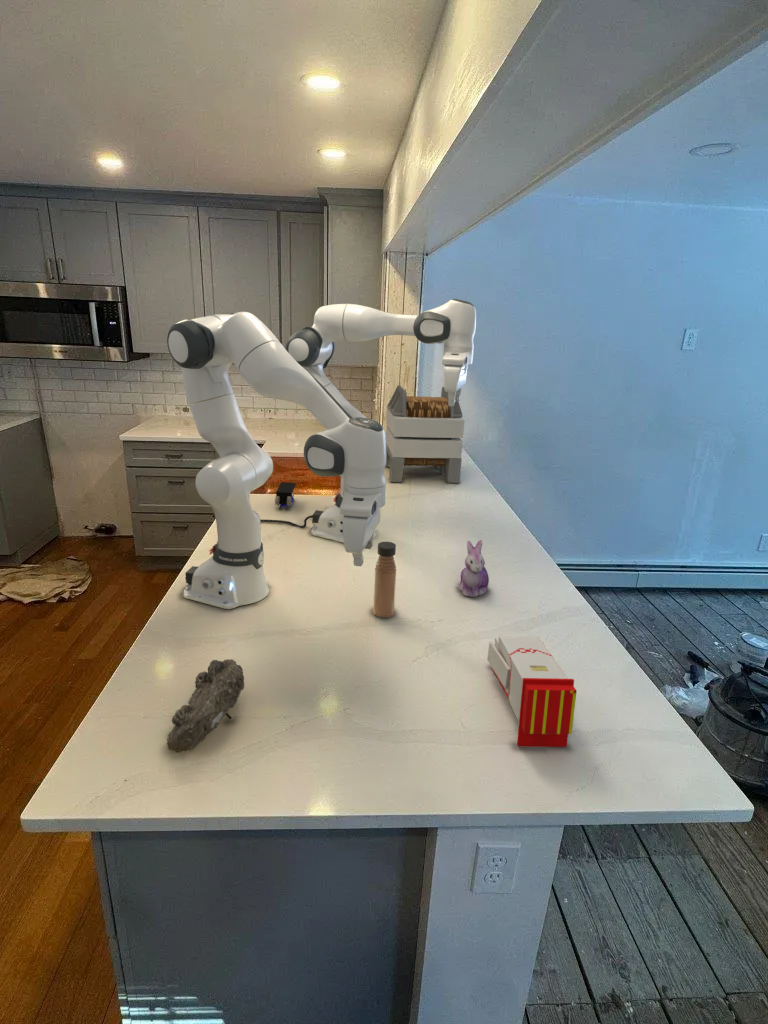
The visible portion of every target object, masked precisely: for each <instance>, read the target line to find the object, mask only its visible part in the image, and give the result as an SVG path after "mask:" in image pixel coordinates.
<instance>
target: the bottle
mask: <svg viewBox="0 0 768 1024" xmlns="http://www.w3.org/2000/svg"><path fill="white" fill-rule="evenodd" d="M396 582H397V564H396V561H395V556H392V557H383V556H380V555H378V558H377V561H376V563H375V568H374V583H373V585H374V586H373V587H374V588H373V607H372V609H373V610H372V613H373V614H374V616H376V617H379V618H390V617H392V616H394V614H395V601H396V584H397V583H396Z"/></svg>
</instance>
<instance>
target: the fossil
mask: <svg viewBox="0 0 768 1024" xmlns="http://www.w3.org/2000/svg"><path fill="white" fill-rule="evenodd" d="M243 670H244V669H243V667H242V665H240V664H237V662H236V661H235V660H234V659H232V658H231V659H227V658H226V659H224V660H223V661H222V660H217V659H212V660H211V661H210V663H209V665H208V666H207V671H201V672H199V673H198V674H197V675H196V676H195V680H194V684H195V685H194V687H195V689H194V690H193V693H192V694H191V697H190V698H189V700H188V704H184V705H182V706H181V707H180V709H177V710H176V711H175V713H174V715H173V716H172V718H171V723H172V724H173V727H172V730H171V731H170V732H168V734H167V738H166V741H167V742H166V745H167V749H168V750H169V751H173V752H174V753H176V754H178V753H182V752H188V751H189V752H192V751H193V750H195V748H196V747H197V746H199V744H200V743H201V742H203V741H204V740H205V739H206V738H207V737H208V736H209V735H210V734H211V733H212V732H214V730H215V729H217V727H218V726H219V724H220V722H221V721H222V720H223V719H224V718H225V716H226V717H227V719H229V720H233V717H232V715H230V714H229V710H230V709H231V708H234V706H235V704H236V703H237V702H238V699H239V697H240V695H241V693H242V691H243V690H245V689H244V688H245V675H244V671H243Z"/></svg>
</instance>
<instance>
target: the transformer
mask: <svg viewBox="0 0 768 1024" xmlns="http://www.w3.org/2000/svg"><path fill="white" fill-rule="evenodd" d="M440 393H441V394H440V396H415V395H414V396H413V395H412V396H411V395H407V394H408V393H407V390H406V389H404V388H403V387H402V385H399V384H398V385H397V386H396V388H395V390H394V392H393V394H392V395H391V398H390V400H389V402H388V404H387V405H386V413H385V414H386V415H385V423H386V428H385V437H386V466H385V467H388V468H389V475H388V476H389V477H388V478H389V480H390V482H391V483H402V482H403V475H404V469H405V466H406V467H407V466H411V467H412V466H413V467H415V466H416V467H417V466H418V467H436V468H437V470H438V469H439V473H440V474H441V475H443V478H444V479H445V481H446V482H447V483H449V484H455V483H456V484H459V483H461V472H462V461H463V460H462V453H463V442H464V441H463V440H462V439H463V438H464V431H465V430H464V429H465V419H464V418H463V411H462V408H461V405H460V401H458V402H455V405H454V406H449V405H448V401H449V400H448V392H445V390H444V386H442V387H441V392H440Z"/></svg>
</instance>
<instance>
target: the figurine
mask: <svg viewBox="0 0 768 1024" xmlns="http://www.w3.org/2000/svg"><path fill="white" fill-rule="evenodd" d="M482 548H483V540H482V539H479V540H478V541H477V543H476V544H475V546H474V544H473V543H472V542H471V541H470V540H467V542H466V550H467V555H466V557H465V559H464V565H465V566H464V568H463V569H462V570H461V572H460V581H459V590H460V591H461V593H462V595H463V596H466V597H472V598H473V597H474V598H477V597H478V596H483V595H484V594H485V593H486V592H487V590H488V586H489V583H490V577H489V573H488V571H487V568H486V567H485V565H486V561H485V558H484V556H483V553H482Z"/></svg>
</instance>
